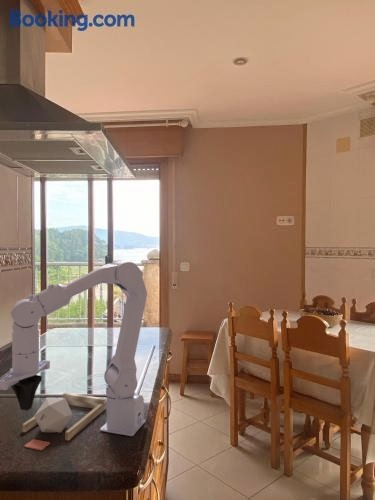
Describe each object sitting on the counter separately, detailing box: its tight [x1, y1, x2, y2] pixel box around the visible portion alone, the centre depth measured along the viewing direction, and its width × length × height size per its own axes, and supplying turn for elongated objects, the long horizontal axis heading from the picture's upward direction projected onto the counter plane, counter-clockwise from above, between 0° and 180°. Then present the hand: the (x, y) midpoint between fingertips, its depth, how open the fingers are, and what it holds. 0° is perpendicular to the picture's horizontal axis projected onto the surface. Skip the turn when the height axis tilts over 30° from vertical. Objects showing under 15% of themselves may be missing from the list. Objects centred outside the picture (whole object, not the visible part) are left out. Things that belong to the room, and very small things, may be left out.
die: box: [33, 397, 73, 434], centre depth 93 cm, size 8×9×10 cm
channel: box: [21, 392, 107, 441], centre depth 98 cm, size 14×18×3 cm
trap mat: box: [23, 438, 51, 451], centre depth 86 cm, size 5×3×1 cm, turn 73°
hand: (26, 408), depth 83 cm, fingers closed
